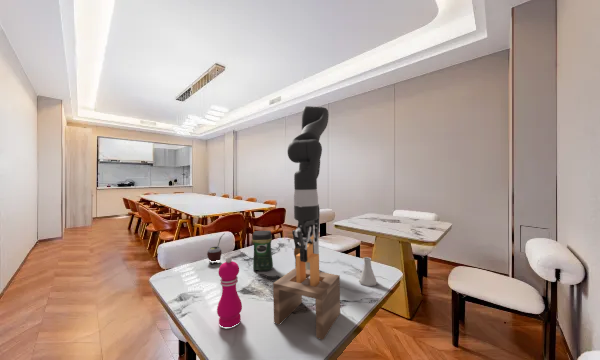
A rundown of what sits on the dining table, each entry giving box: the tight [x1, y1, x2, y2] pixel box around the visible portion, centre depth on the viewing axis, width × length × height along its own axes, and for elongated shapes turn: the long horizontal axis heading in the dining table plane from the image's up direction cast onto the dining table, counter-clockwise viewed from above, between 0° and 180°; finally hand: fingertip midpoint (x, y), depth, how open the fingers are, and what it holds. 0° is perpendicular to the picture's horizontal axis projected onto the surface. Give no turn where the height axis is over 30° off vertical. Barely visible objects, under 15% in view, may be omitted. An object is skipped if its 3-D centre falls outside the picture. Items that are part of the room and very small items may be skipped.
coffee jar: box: [251, 230, 274, 272], centre depth 112 cm, size 10×8×19 cm
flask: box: [358, 256, 378, 287], centre depth 95 cm, size 7×7×10 cm
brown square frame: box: [272, 267, 341, 341], centre depth 71 cm, size 16×14×12 cm
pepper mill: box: [216, 256, 243, 327], centre depth 69 cm, size 7×7×20 cm
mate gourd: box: [206, 232, 225, 261], centre depth 122 cm, size 8×8×15 cm
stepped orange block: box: [296, 243, 321, 287], centre depth 71 cm, size 6×4×14 cm, turn 61°
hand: (307, 258), depth 71 cm, fingers closed on stepped orange block, 4 cm apart
